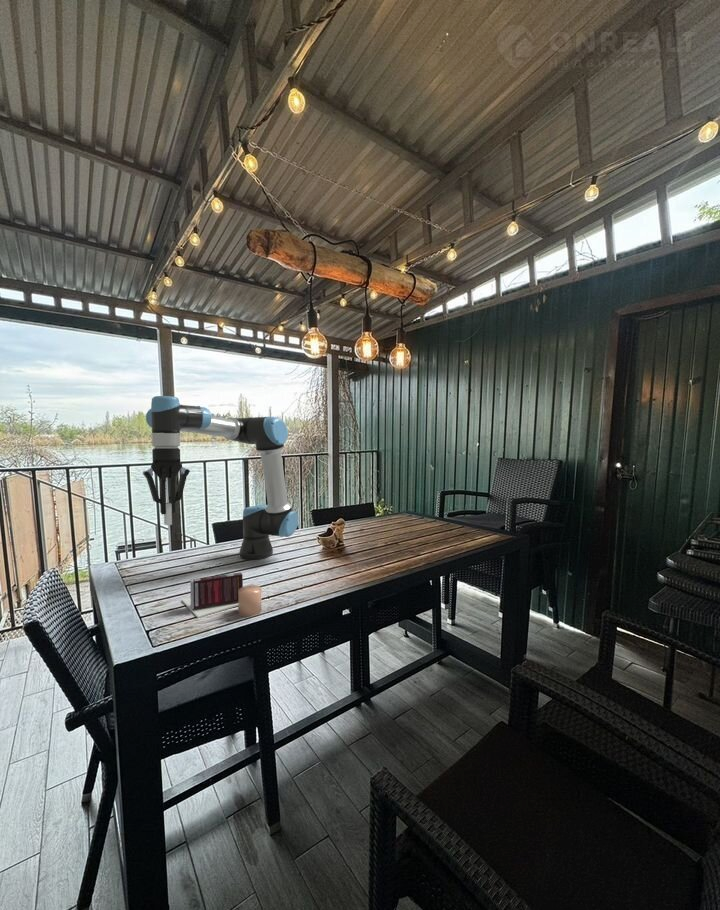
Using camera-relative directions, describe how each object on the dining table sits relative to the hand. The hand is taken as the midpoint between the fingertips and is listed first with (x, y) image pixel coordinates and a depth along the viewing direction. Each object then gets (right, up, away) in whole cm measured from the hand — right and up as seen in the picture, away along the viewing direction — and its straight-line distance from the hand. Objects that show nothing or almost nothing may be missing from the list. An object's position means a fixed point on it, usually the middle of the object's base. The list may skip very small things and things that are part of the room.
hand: (168, 524), depth 113 cm
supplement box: (+5, -23, +5) cm, 24 cm away
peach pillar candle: (+24, -28, +4) cm, 37 cm away
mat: (+11, -28, +10) cm, 32 cm away
